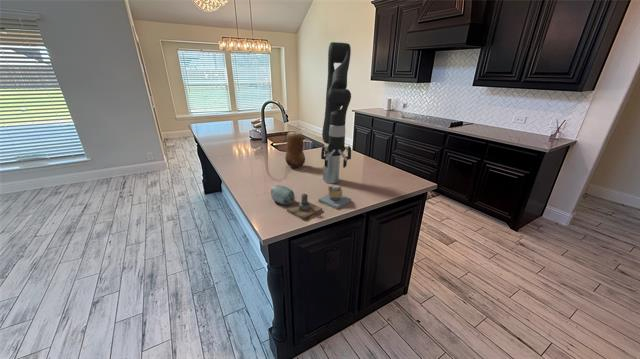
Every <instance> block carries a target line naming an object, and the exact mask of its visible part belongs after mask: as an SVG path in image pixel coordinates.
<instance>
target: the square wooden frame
mask: <svg viewBox="0 0 640 359" xmlns="http://www.w3.org/2000/svg"><path fill="white" fill-rule="evenodd" d="M328 194H329V197H342V195H343V189H342V187H341V186H339V191H332V186H328Z"/></svg>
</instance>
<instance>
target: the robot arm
mask: <svg viewBox="0 0 640 359" xmlns="http://www.w3.org/2000/svg"><path fill="white" fill-rule="evenodd" d="M327 52H328V53H327V82H326V94H325V110H324V111H325V112H324V120H323V126H322V131H321V132H322V133H321V135H322V140H323V143H325V144H327V145H328V146H325V145H322V146H321V155H320V159H321V160H324V164H323V165H322V181H324V182H325V183H326V184H337V183H339V182H340V168H341V166H340V165H341V157H342V158H343V160H342V167H343V169H345V168H347V164H348V162H347V161H349V160H351V159H352V148H351V146H350V145H348V146H345V145H346V144H345V141H346V120H347V119H346V117H347V111H348V108H349V106H350V102H351V99H352V93H351V91H350V90H349V88H348V72H349V67H350V62H351V56H352V55H351V54H352V50H351V45H350V43H347V42H335V41H332V42H330V43H329V45H328V50H327ZM335 64H339V65H338V66H337V67H336V68H335ZM345 151H346V152H347V156H346V155H345V154H344V152H345Z"/></svg>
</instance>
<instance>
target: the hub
mask: <svg viewBox="0 0 640 359" xmlns="http://www.w3.org/2000/svg"><path fill="white" fill-rule="evenodd" d="M331 185H332V184H331ZM331 187H332V191H339V187H340V186H339V185H338V184H333V185H332V186H331ZM318 202H319V203H321V204H322V205H323V204H324V205H325V206H328V207H330V208H332V209H335V210H338V209H340V208H342V207H344V206H345V205H347V204H349V203H351V202H352V198H351V197H348V196H346V195H343V194H342V197H329V193H328V194H326V195H324V196H321V197H319V198H318Z"/></svg>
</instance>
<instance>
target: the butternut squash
mask: <svg viewBox="0 0 640 359" xmlns="http://www.w3.org/2000/svg"><path fill="white" fill-rule="evenodd" d="M284 159H285V162H286V164H287V165H288V166H289V167H291V168H293V169H299V168H302V167H303V166H304V164H305V162H306V156H305V153H304V136H303V134H302V133H301V132H298V131H289V132H287V134H286V152H285V157H284Z"/></svg>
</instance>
